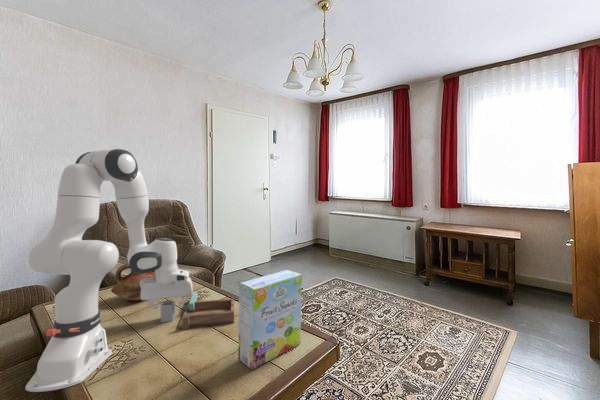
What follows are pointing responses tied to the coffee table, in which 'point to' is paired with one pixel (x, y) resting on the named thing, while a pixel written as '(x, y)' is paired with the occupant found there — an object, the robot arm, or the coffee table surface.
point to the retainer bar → (192, 301)
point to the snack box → (269, 317)
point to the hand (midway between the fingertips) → (168, 307)
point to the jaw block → (168, 311)
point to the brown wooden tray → (208, 313)
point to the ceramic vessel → (129, 283)
